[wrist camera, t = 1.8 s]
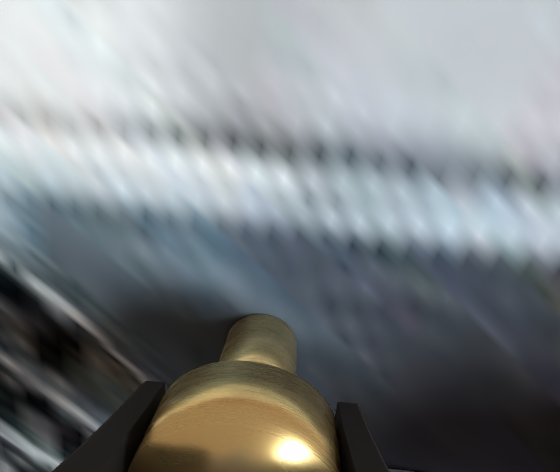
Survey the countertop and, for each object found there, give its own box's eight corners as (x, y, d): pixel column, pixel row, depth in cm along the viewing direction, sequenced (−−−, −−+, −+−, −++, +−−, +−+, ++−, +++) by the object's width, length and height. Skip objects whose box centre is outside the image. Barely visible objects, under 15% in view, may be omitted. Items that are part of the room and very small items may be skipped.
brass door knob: (336, 294, 13) (362, 441, 7) (319, 398, 15) (329, 576, 9) (195, 280, 13) (112, 413, 7) (199, 384, 15) (136, 550, 9)
